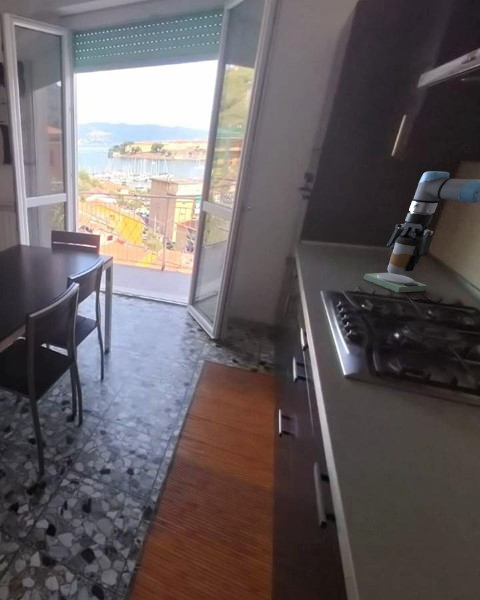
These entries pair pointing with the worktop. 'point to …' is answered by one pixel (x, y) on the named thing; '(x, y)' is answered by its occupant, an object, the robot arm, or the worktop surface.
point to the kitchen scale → (395, 282)
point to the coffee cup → (402, 254)
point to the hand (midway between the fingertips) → (399, 267)
